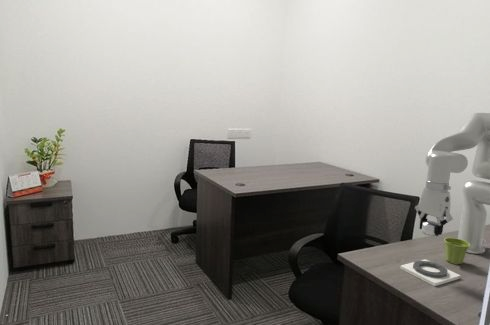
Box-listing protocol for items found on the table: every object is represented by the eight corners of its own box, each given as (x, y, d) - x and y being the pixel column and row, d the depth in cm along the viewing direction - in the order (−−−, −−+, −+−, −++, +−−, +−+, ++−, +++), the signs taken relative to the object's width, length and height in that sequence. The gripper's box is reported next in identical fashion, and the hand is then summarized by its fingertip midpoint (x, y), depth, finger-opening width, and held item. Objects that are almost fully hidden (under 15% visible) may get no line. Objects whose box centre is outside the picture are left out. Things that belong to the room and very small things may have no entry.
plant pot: (441, 254, 159) (444, 235, 158) (466, 260, 155) (469, 240, 153) (440, 262, 151) (443, 242, 150) (467, 268, 147) (470, 248, 145)
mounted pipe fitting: (424, 261, 151) (425, 256, 151) (460, 278, 138) (461, 272, 138) (399, 268, 144) (400, 262, 144) (434, 286, 131) (435, 280, 131)
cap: (428, 229, 145) (429, 219, 144) (442, 235, 140) (443, 224, 139) (417, 231, 143) (419, 221, 142) (431, 237, 137) (433, 226, 137)
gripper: (465, 191, 132) (457, 238, 135) (423, 180, 147) (417, 223, 150) (451, 192, 129) (444, 241, 132) (410, 181, 144) (405, 225, 147)
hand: (430, 231), depth 141 cm, fingers closed on cap, 6 cm apart
